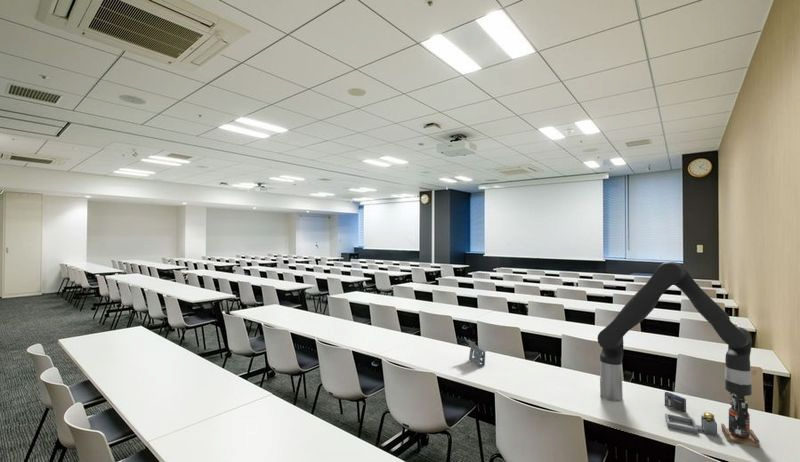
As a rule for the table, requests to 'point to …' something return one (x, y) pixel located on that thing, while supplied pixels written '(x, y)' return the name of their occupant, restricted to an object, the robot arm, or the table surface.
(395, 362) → the table surface
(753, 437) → the brown curved tray
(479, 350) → the bracket
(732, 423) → the supplement bottle
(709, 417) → the brass knob
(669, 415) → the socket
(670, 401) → the mini dv tape
